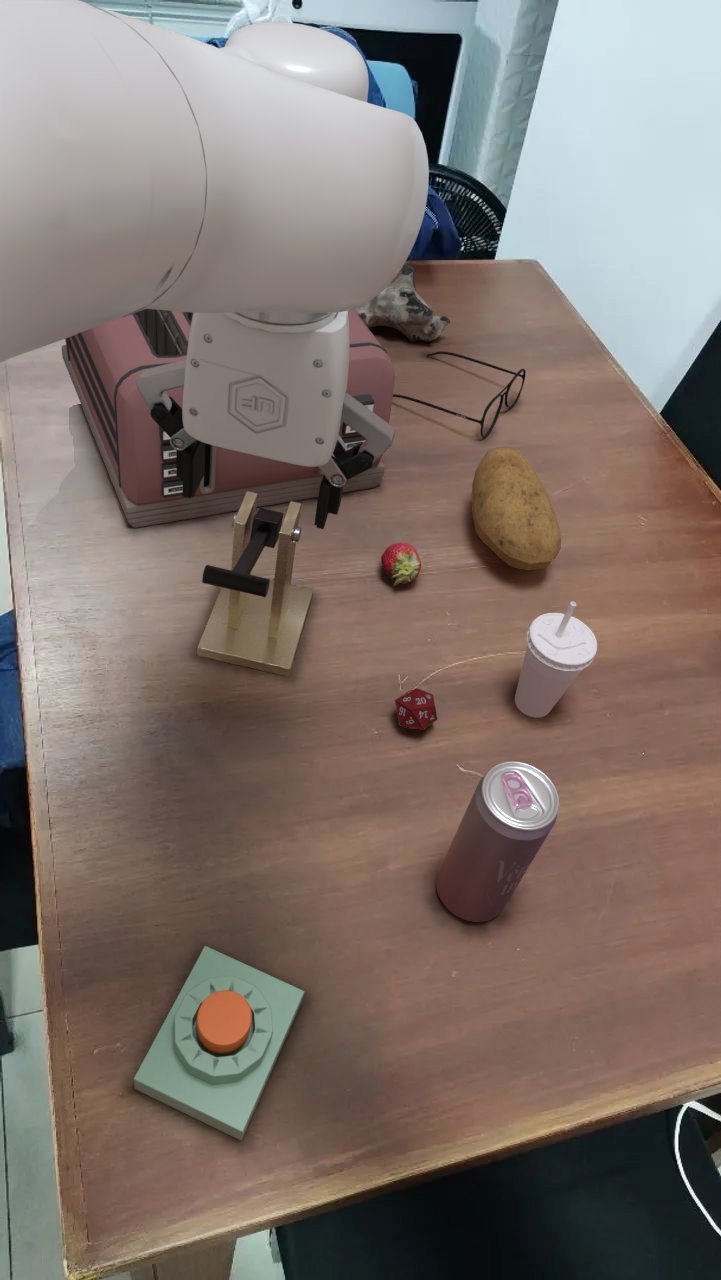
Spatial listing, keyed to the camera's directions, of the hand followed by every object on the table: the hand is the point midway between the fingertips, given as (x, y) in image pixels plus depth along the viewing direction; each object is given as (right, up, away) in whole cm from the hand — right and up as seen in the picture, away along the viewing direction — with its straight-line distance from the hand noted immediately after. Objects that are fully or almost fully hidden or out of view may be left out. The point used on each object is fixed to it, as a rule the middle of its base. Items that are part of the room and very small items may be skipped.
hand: (258, 501), depth 66 cm
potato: (+24, +1, +39) cm, 45 cm away
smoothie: (+24, -16, +24) cm, 38 cm away
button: (-2, -36, -5) cm, 37 cm away
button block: (-2, -38, -2) cm, 39 cm away
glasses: (+20, +22, +57) cm, 64 cm away
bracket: (-3, -9, +25) cm, 26 cm away
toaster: (-9, +15, +44) cm, 47 cm away
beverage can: (+16, -31, +9) cm, 36 cm away
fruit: (+11, -3, +33) cm, 35 cm away
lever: (-2, -4, +10) cm, 11 cm away
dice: (+12, -18, +20) cm, 29 cm away
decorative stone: (+12, +34, +66) cm, 75 cm away
